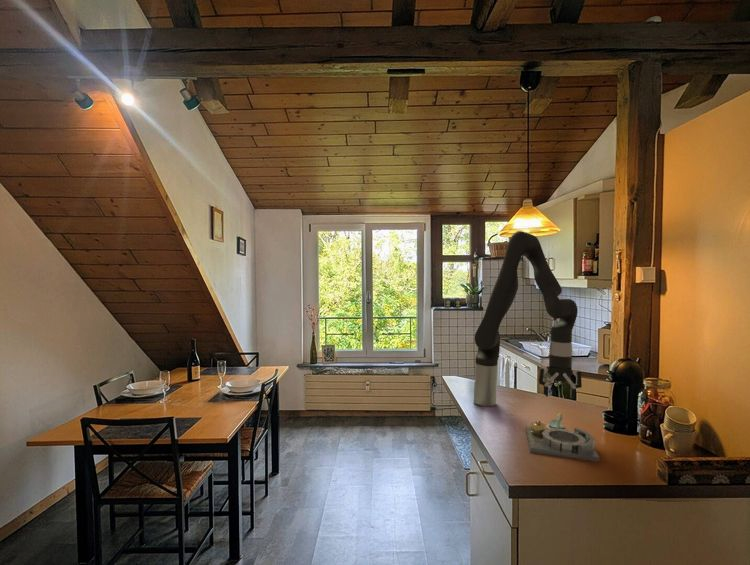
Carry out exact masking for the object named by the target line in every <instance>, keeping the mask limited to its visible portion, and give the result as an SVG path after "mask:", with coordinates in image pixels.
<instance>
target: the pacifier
mask: <svg viewBox="0 0 750 565" xmlns="http://www.w3.org/2000/svg"><path fill="white" fill-rule="evenodd" d="M562 420H563V414H562V413H561V412H559V413H557V415H556V418H555V419H552V420H550V422H549V423H548V424H546V429H551V428H555V429H556V428H558V429H565V430H567V427H563V424H562V422H561V421H562Z"/></svg>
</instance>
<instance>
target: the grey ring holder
mask: <svg viewBox="0 0 750 565" xmlns="http://www.w3.org/2000/svg"><path fill="white" fill-rule="evenodd" d="M545 426H546V425H545V423H543V422H541V421H540V420H535V421H532V422H531V424H530V426H527V425H526V426H525V434H526V439H527V443H529V444H528V448H529V453H533V454H540V455H546V456H553V457H560V458H561V457H562V458H567V457H568V459H574V458H577V459H576V460H581V459H585V460H584V461H588V460H590V461H589V462H596V463H597V462H598V463H600V456H599V454H598V452H597V450H596V448H595V446H596V445H595V444H596V443H595V442H596V440H595V437H594V436H593V435H591V433H590V432H588V431H586V430H584V429H581V428H580V427H579V428H578V427H574V429H573V431H572V430H569V429H558V428H556V429H555V428H553V427H550V428H551V429H548V428H545Z"/></svg>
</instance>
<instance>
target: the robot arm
mask: <svg viewBox="0 0 750 565" xmlns="http://www.w3.org/2000/svg"><path fill="white" fill-rule="evenodd" d="M540 242H541V241H540V240H539V239H538V237H537V236H535V235H534V234H532V233H528V232H525V231H521V230H520V231H519V230H518V231H516V232H513V234H512V235H511V236H510V238H509V241H508V242H507V243H508V244H507V246H506V250H505V254H504V257H503V262H502V264H501V268H500V269H499V270H500V271H499V273H498V276H497V279H496V281H495V284H494V286H493V288H492V291H491V295H490V297H489V301H488V302H487V305H486V309H485V313H484V315H483V317H482V320H481V322H480V323H479V326H478V327H477V330H476V332H475V334H474V338H473V339H474V343H475V345H476V347H477V353H476V356H475V366H474V368H475V369H474V384H473V386H474V387H473V388H474V389H473V404H475V405H478V406H482V407H495V406H496V405H497V387H498V386H497V384H498V383H497V382H498V364H499V362H498V361H499V357H500V350H501V349H500V347H501V334H500V332H499V328H500V325H501V324H502V322H503V320H504V318H505V316H506V314H508V311H509V310H510V309H511V306H512V305H513V302H514V301H515V298H516V295H517V293H518V290H519V278H518V277H519V276H518V275H519V274H518V267H519V264H520V261H521V259H522V257H525V258H526V259H528V262H530V264H531V266H532V268H533V276H534V281H535V283H536V285H537V287H538V289H539V291H540V293H541V295H542V297H543V302H544V306H545V310H546V312H547V314H548V315H549V317H551V318H552V319H557V320H558V319H559V320H558V323H556V324H553V325H552V326H551V328H550V342H549V343H550V344H549V350H548V352H549V355H548V356H549V358H548V359H549V360H548V368H546V367H542V366H540V367H539V373H538V383H539V385H542V386H543V395H545V397H546V398H548V397H549V385H550V384H551V383H553V381H555V382H563V383H564V382H568V384H569V385H570V390H569V393H570V395H569V397H570V398H569V399H570V400H574V398H576V389H579V388H582V372H581V371H580V369H576V370H573V368H572V367H573V366H572V364H573V363H572V361H573V357H572V356H573V343H572V342H573V341H572V340H573V339H572V338H573V329H574V326H575V323H576V320H577V317H578V313H579V312H578V310H579V308H578V305H577V303H576V302H575V301H574V300H573V299H571V298H559V296H560V295H561V294H562V291H563V289H562V286H561V284H560V283H559V281H558V279H557V278H556V276H555V275H554V273H553V271H552V269H551V268H550V265H549V263H548V260H547V258H546V256H545V253H544V251H543V248H542V245H541V243H540ZM547 373H548V375H549V376H548V377H546V379H545V380H544V375H546V374H547ZM573 375H574V377H575V379H576V383H574V382H573V381H572V379H571V377H572V376H573Z"/></svg>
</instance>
